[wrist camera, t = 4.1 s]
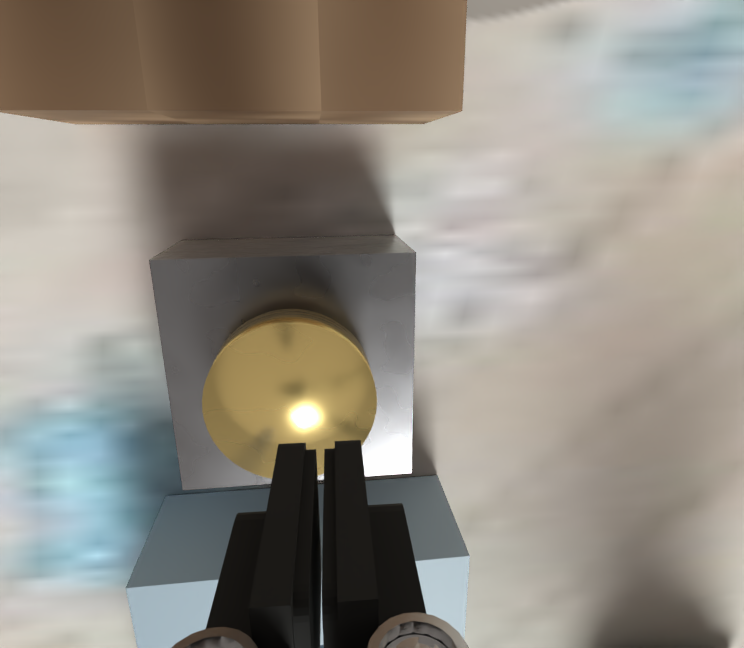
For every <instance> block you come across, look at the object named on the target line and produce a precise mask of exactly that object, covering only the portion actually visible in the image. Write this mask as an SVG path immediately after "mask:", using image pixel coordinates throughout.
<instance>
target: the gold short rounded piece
mask: <svg viewBox="0 0 744 648" xmlns="http://www.w3.org/2000/svg"><path fill="white" fill-rule="evenodd" d="M376 409H377V394H376V388H375V383H374V379H373V376H372V372H371V369H370V365H369V362H368V359H367V356H366V354H365V352H364V350H363V348H362V346H361V344H360V343H359V342H358V340H357V339H356V338H355V336H354V335H353V334H352V333H351V332H350V331H349V330H348V329H347V328H345V327H344V326H343V325H341V324H340V323H339V322H337V321H335V320H333V319H332V318H330V317H328V316H325V315H323V314H320V313H317V312H313V311H309V310H303V309H281V310H275V311H270V312H266V313H264V314H261V315H258V316H256V317H254V318H252V319H250V320H248V321H247V322H245V323H244V324H242V325H241V326H239V327H238V328H237V329H236V330H235V331H234V332H233V333H232V334H231V335H230V336H229V337H228V338H227V340H226V341H225V342H224V344H223V345H222V347H221V349H220V350H219V352H218V354H217V356H216V358H215V360H214V363H213V365H212V367H211V369H210V371H209V373H208V376H207V378H206V381H205V384H204V388H203V395H202V412H203V417H204V422H205V424H206V427H207V430H208V432H209V434H210V436H211V438H212V440H213V441H214V443H215V444H216V446H217V447H218V448H219V450H220V451H221V452H222V453H223V454H224V455H225V456H226V457H227V458H228V459H230V460H231V461H232V462H233V463H235V464H236V465H238V466H239V467H241V468H243V469H245V470H247V471H249V472H251V473H253V474H256V475H259V476H262V477H266V478H271V479H272V477H273V471H274V465H275V460H276V454H277V449H278V444H287V443H306V450H310V449H316V455H317V475H318V476H319V475H321V474H324V449H330V448H335V441H348V440H361V446H362V444H363V443H364V442H365V440H366V439H367V437H368V435H369V433H370V431H371V429H372V426H373V423H374V420H375V415H376Z"/></svg>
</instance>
